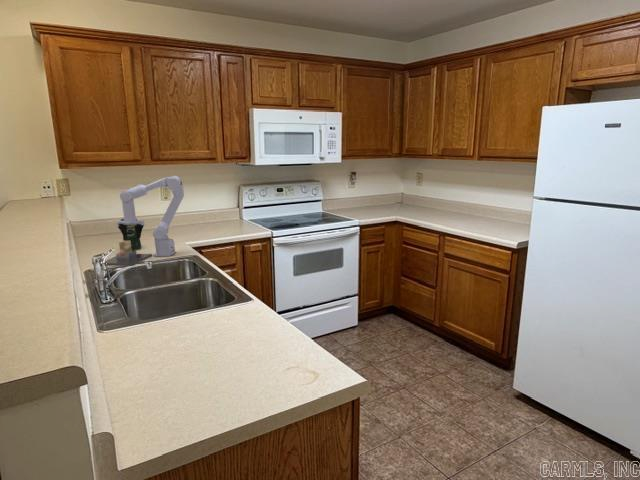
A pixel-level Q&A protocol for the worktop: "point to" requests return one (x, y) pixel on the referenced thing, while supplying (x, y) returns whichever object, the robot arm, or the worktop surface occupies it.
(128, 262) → the jack base
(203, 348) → the worktop surface
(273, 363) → the worktop surface
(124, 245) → the column
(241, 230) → the worktop surface
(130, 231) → the coffee jar
